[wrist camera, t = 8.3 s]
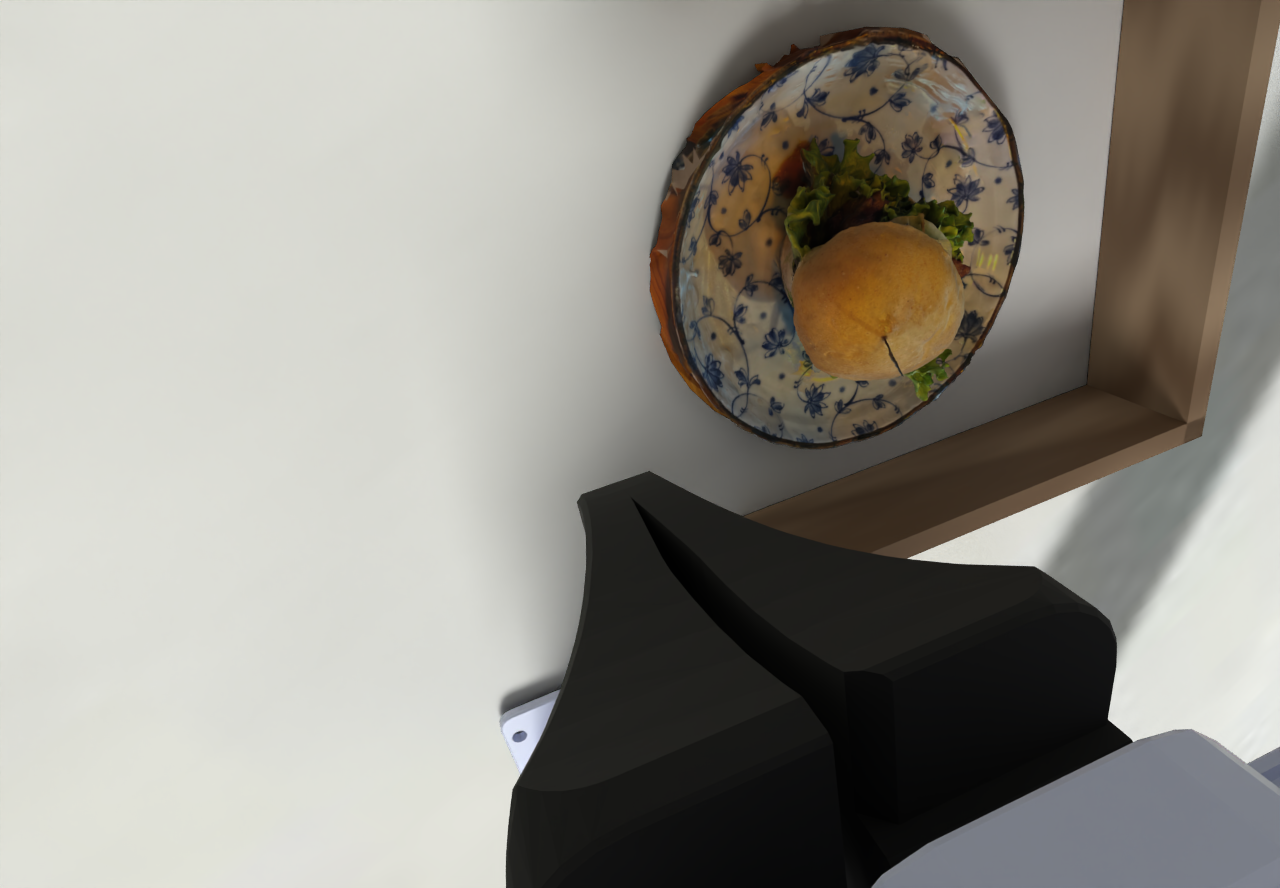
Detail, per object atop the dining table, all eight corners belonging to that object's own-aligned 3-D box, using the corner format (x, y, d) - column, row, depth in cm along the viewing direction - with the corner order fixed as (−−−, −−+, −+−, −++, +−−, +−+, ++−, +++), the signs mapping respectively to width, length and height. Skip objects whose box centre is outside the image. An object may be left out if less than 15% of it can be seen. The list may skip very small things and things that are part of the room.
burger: (965, 391, 26) (1155, 481, 20) (664, 468, 24) (772, 601, 17) (1006, 14, 21) (1284, -30, 15) (623, 55, 18) (756, 24, 12)
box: (1101, 396, 28) (1201, 436, 25) (740, 537, 25) (797, 603, 22) (1162, -165, 20) (1325, -222, 17) (636, -53, 17) (701, -94, 14)
